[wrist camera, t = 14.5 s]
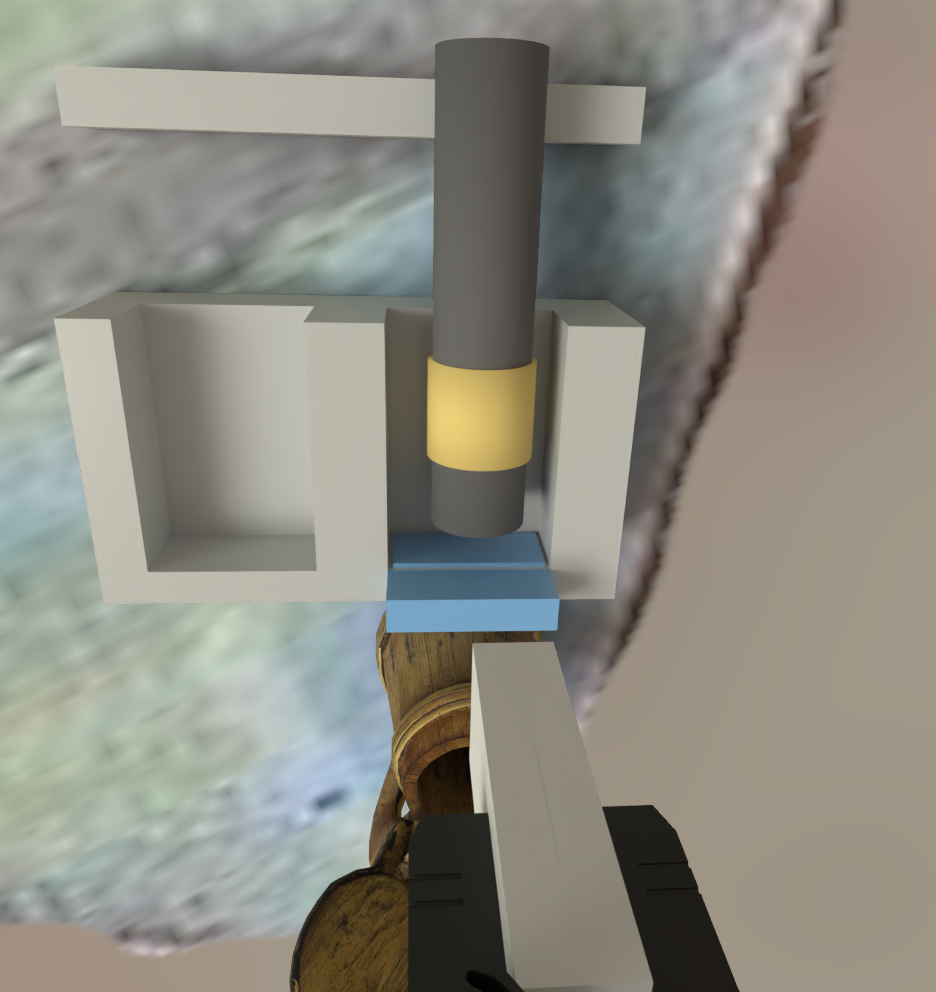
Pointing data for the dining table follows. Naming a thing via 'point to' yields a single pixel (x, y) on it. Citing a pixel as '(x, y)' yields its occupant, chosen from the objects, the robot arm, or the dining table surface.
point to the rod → (484, 280)
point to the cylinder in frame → (332, 399)
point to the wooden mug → (398, 812)
